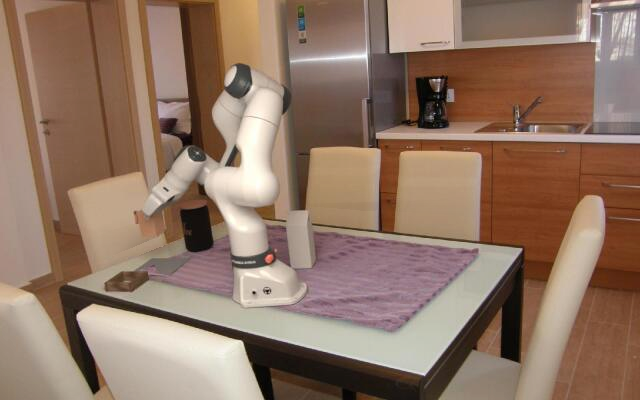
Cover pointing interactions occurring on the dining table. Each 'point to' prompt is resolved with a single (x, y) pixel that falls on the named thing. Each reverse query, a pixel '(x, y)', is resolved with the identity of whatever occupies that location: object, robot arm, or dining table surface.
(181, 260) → the mat
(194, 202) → the coffee jar
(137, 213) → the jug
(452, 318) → the dining table surface
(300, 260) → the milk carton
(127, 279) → the tray
